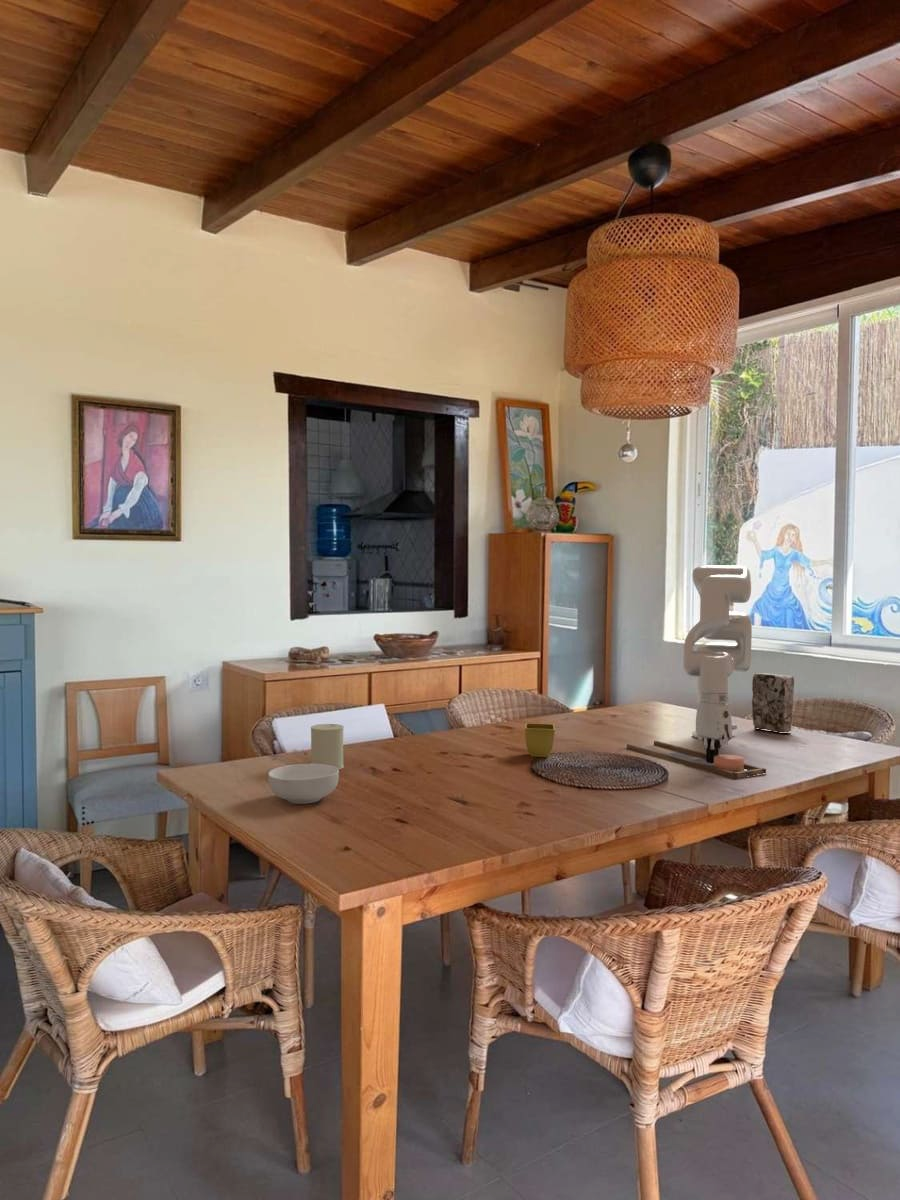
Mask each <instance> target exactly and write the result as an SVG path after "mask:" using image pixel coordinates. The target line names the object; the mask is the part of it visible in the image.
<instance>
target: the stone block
mask: <svg viewBox="0 0 900 1200" xmlns="http://www.w3.org/2000/svg"><path fill="white" fill-rule="evenodd" d="M751 684H752V685H751V686H752V687H751V689H752V698H751V699H752V700H751V705H752V706H751V707H752V711H751V712H752V723H753V726H754V727H753V728H754V729H755V728H759V729H767V730H771V731H777V732H789V731H792V721H793V707H794V689H795V678H794V676H792V675H788V674H779V673H778V674H775V673H768V672H759V673H758V672H756V673H754V675H753V677H752V683H751Z"/></svg>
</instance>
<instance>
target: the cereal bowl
mask: <svg viewBox="0 0 900 1200" xmlns="http://www.w3.org/2000/svg"><path fill="white" fill-rule="evenodd" d="M267 774H268V775H267V779H268V784H269V785H268V786H269V788H270V790H271V792H272V793H273V794H274V795H275V796H277V797H278V798H281V799H283V800H287V801H288V803H291V804H299V805H300V804H302V805H304V804H312V803H316V802H320V800H321V799H322V798H324V797H326V796H328V795H330V794H331V793H333V791H335V789H336V787H337V786H338V784H339V779H340V777H339V776H340V770H338V768H336V767H334V766H330V765H324V764H311V763H298V764H290V765H284V766H280V767H276V768H272V769H271V770H270V771H268V773H267Z"/></svg>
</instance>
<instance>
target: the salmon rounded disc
mask: <svg viewBox="0 0 900 1200" xmlns="http://www.w3.org/2000/svg"><path fill="white" fill-rule="evenodd" d="M744 763H745V758H744V757H743V756H740V755H735V754H718V755H715V756H714V767H716V768H720V769H723V770H727V771H731V772H741V771H744Z"/></svg>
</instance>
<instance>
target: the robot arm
mask: <svg viewBox="0 0 900 1200" xmlns="http://www.w3.org/2000/svg"><path fill="white" fill-rule="evenodd" d="M692 581H693V585H694V587H695V588H696V591H697V593H698V595H699V599H700V602H699V609H700V610H699V621H698V622H696V623H695V624H694V625H693V627H692V628H691V629H690V630H689V631H688V633H687V635H686V637H685V640H684V644H683V661H682V662H683V664H682V665H683V666H682V667H683V670H684V673H685V674H686V675H687V676H689V677H696V678H697V709H696V717H695V730H693V731H692V733H691V734H692V737H693V736H694V738H695V739H698V740H700V741H702V743H703V744H704V745H703V746H704V748H705V753H706V762H707V763H714V756H715V755H719V750H721V747H722V746H725V745H728V744H729V740H731V739H732V738H731V737H732V736H733V733H732V732H733V731H735V730H737V728H738V726H737V724H736V723H732V712H731V707H730V704H728V702H729V696H728V693H729V692H728V691H729V690H728V688H729V687H728V682H729V681H728V679H729V677H730V676H731V675H732V674H733V673H745V672H747V671H748V670H749V669H750V667H751V663H752V635H753V633H752V632H753V631H752V628H753V627H752V620H751V617H750V615H749V614H747V613H746V612H742V611H730V604H736V603H737V604H740V603H741V604H745V603H747V602H748V601H749V600H750V598H751V594H752V582H751V573H750V570H749V568H748V567H747V566H742V565H700V566H697V567H695V568H694V569H693V570H692ZM702 638H703V639H705V640H708V641H709V642H703V643H701V644H700V645H698V646H697V647H696V649H695V650H694V646H695V645H696V643H697V642H698V641H699V640H700V639H702ZM711 641H712V642H711ZM713 641H721V642H713ZM722 641H724V642H722ZM725 641H726V642H725ZM727 641H728V642H727ZM734 642H735V643H734ZM730 738H731V739H730Z"/></svg>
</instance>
